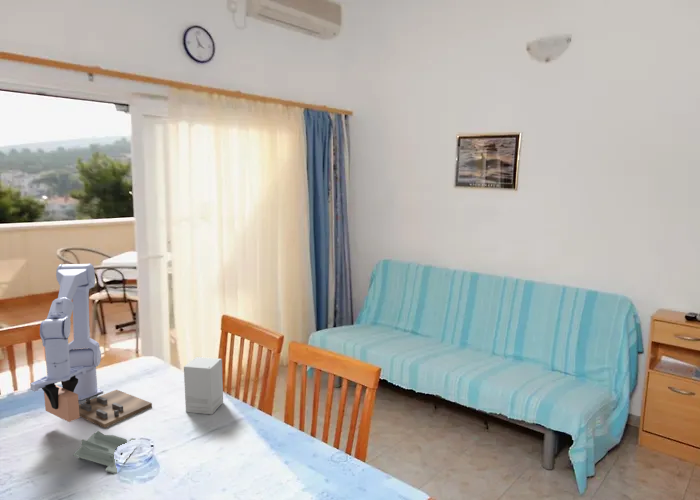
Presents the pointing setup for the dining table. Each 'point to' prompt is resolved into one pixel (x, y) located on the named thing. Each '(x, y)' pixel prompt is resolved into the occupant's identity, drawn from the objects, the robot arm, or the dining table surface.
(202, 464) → the dining table surface
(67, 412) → the door panel
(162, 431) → the dining table surface
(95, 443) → the grey-green ridged piece
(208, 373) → the supplement box
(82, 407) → the cabinet side board
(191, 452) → the dining table surface
